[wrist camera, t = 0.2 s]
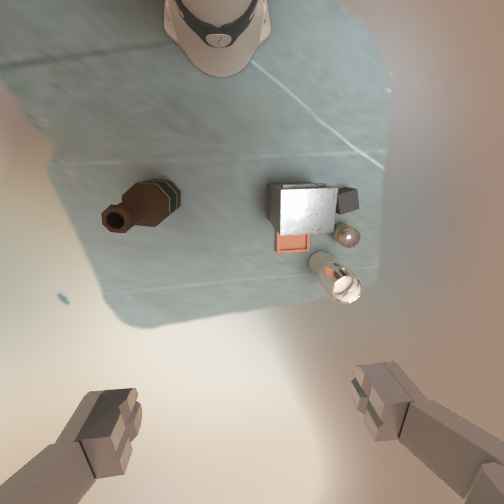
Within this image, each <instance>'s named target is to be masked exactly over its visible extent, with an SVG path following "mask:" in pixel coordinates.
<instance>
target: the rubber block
mask: <svg viewBox="0 0 504 504" xmlns="http://www.w3.org/2000/svg"><path fill="white" fill-rule="evenodd" d="M357 209H359V201H358V193H357V189H354V188H349V187H345V188H341V189H338V194H337V204H336V213H338V214H340V215H341V214H344V213H347V212H350V211H354V210H357Z"/></svg>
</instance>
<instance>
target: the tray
mask: <svg viewBox="0 0 504 504" xmlns="http://www.w3.org/2000/svg"><path fill="white" fill-rule="evenodd" d="M309 245H310V234H297V235H280V234H279V233H278V232H277V230H276V252H277V253H291V252H308V251H309Z"/></svg>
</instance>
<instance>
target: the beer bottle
mask: <svg viewBox="0 0 504 504" xmlns="http://www.w3.org/2000/svg"><path fill="white" fill-rule="evenodd" d="M179 206H180V191H179V190H178V189H177V187H176V186H175V185H174V184H173V183H172V182H171V181H166V180H158V179H153V180H148V181H142V182H138V183H136V184H134V185H133V186H132V187H131V188H130V189H129V190H128V191H126V192H125V193H124V194H123V195H122V203H120V204H118V205H110V206H109V207H108V208H107V209H106V210H105V211H103V213H102V224H103V225H104V226H105V227H106V228H107V229H108V230H109V231H110V232H117V233H126V232H127V231H128V230H129V229H130V228H131V227H133V226H135V225H139V226H151V227H155V226H157V225H158V224H159V223H161V222H162V221H163V220H164V219H165V218H167V217H168V216H169V215H170V214H171V213H172V212H174V211H175V210H176V209H177V208H178V207H179Z"/></svg>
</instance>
